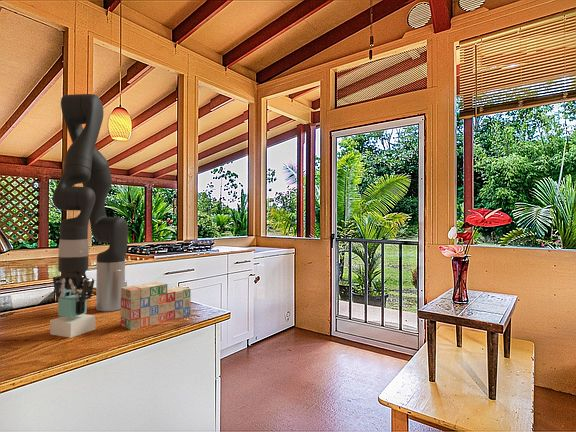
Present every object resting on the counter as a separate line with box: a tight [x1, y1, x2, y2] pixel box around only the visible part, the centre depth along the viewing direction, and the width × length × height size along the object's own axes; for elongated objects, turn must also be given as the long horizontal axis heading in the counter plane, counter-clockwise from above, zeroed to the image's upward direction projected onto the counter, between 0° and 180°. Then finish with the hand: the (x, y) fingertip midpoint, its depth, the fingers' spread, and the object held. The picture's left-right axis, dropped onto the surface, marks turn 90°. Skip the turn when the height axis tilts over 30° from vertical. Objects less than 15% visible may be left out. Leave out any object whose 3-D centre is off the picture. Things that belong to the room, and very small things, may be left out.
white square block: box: [49, 313, 96, 339], centre depth 102 cm, size 8×8×4 cm
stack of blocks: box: [120, 281, 192, 331], centre depth 114 cm, size 21×6×12 cm, turn 141°
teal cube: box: [57, 294, 88, 318], centre depth 101 cm, size 5×5×5 cm
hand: (72, 312), depth 102 cm, fingers closed on teal cube, 5 cm apart
